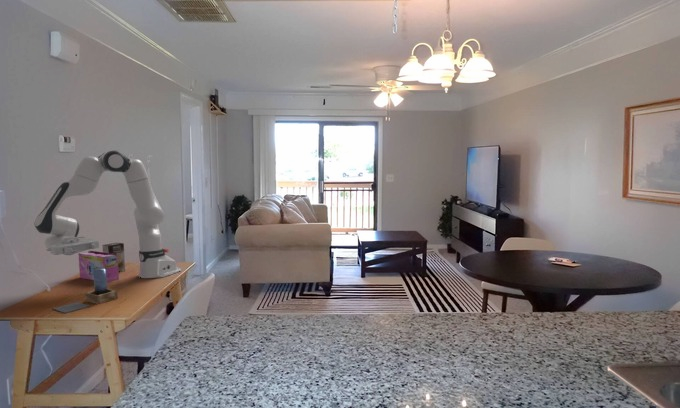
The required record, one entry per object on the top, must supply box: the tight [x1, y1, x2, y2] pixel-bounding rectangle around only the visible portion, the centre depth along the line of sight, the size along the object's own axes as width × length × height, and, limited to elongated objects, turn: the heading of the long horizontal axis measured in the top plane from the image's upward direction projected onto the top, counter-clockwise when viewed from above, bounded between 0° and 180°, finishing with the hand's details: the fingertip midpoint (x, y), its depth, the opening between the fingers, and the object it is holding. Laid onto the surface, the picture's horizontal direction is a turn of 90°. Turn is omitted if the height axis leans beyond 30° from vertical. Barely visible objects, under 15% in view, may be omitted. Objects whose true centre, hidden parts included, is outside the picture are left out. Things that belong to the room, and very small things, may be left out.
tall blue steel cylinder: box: [93, 268, 108, 295], centre depth 197 cm, size 5×5×14 cm
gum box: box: [77, 250, 120, 283], centre depth 234 cm, size 24×8×14 cm, turn 62°
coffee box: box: [102, 242, 126, 273], centre depth 248 cm, size 9×6×16 cm
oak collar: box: [84, 287, 119, 305], centre depth 198 cm, size 9×9×4 cm
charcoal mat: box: [52, 301, 90, 314], centre depth 187 cm, size 10×10×1 cm
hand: (83, 248), depth 202 cm, fingers open, 8 cm apart
